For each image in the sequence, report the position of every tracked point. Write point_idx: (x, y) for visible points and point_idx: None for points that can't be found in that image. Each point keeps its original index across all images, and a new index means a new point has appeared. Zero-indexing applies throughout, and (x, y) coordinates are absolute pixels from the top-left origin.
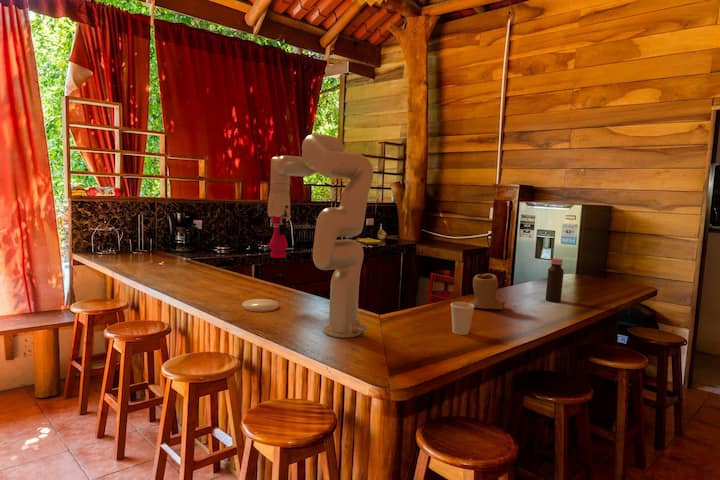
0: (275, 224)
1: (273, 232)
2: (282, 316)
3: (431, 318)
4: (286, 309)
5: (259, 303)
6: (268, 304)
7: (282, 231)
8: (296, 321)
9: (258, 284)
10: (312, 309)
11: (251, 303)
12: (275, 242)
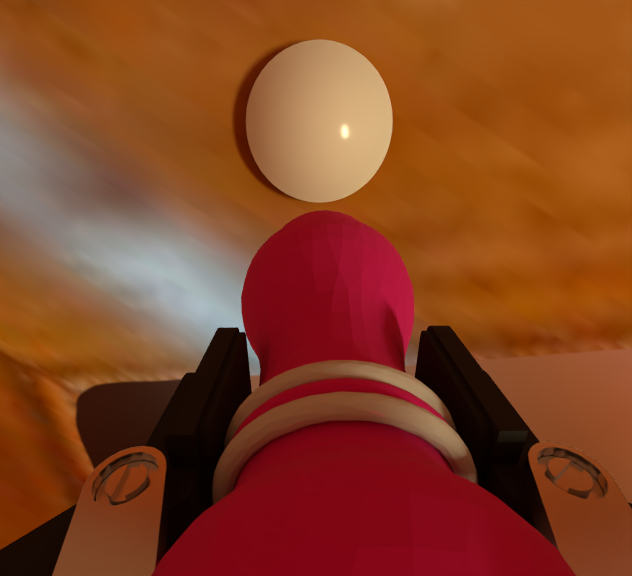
0: (292, 402)
1: (421, 348)
2: (159, 129)
3: (2, 465)
4: (241, 198)
5: (318, 122)
6: (285, 147)
7: (183, 377)
8: (79, 136)
9: (619, 313)
10: (202, 274)
11: (335, 90)
12: (276, 254)
